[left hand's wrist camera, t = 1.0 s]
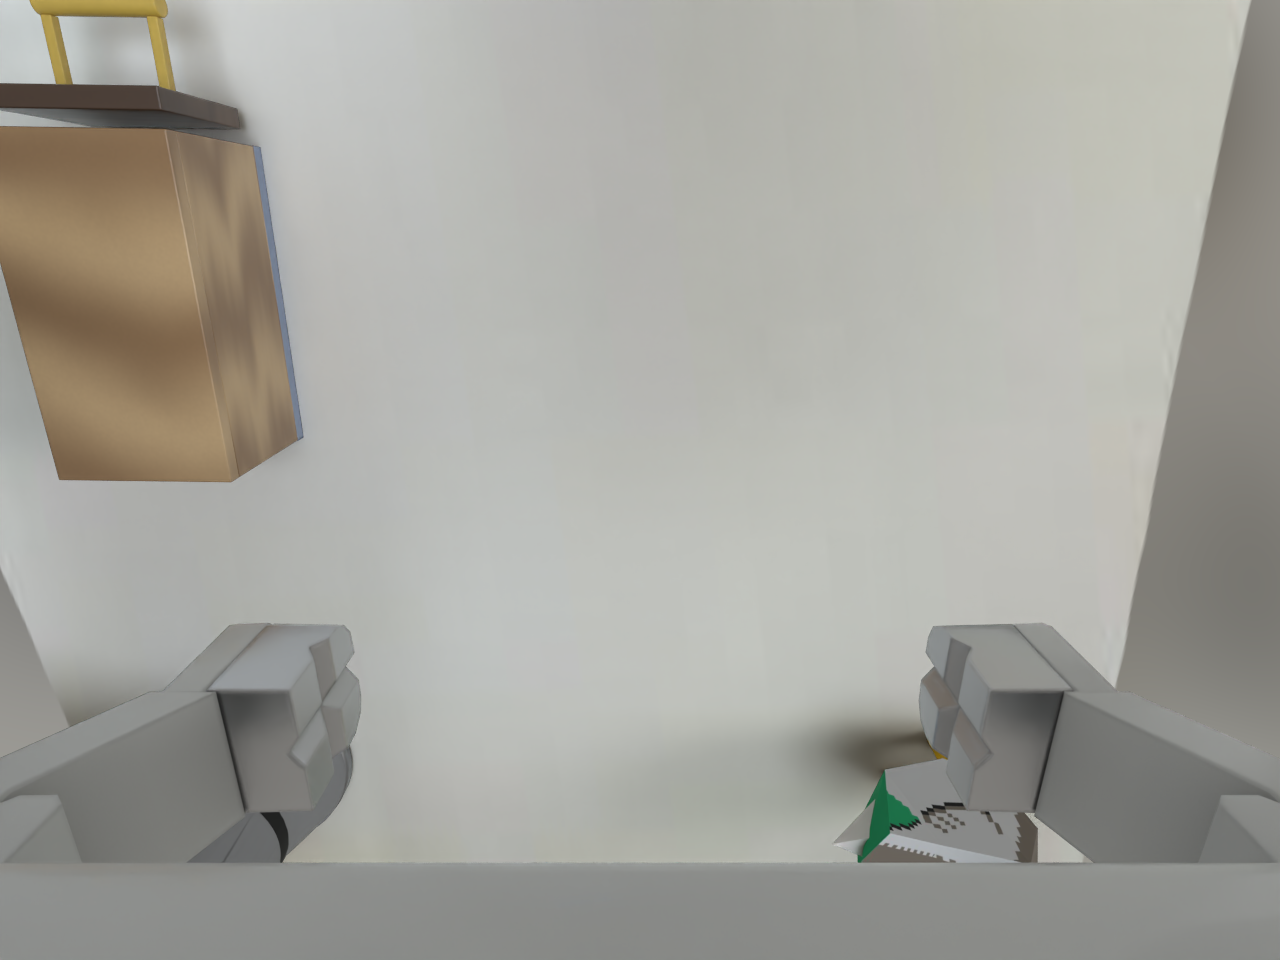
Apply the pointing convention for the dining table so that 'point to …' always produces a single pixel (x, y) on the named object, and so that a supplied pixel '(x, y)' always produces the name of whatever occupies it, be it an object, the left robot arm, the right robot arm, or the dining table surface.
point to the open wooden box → (147, 301)
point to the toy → (934, 823)
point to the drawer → (112, 100)
